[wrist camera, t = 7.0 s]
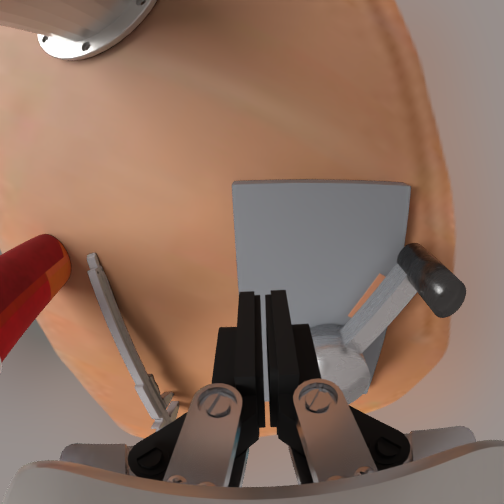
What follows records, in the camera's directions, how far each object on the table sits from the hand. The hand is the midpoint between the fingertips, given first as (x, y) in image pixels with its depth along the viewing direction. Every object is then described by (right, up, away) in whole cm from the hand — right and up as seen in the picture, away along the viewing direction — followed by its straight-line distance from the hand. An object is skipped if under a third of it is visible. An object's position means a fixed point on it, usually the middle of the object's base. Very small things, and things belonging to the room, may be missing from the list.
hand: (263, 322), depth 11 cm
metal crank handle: (+8, -3, +12) cm, 15 cm away
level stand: (+5, -2, +14) cm, 15 cm away
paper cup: (-21, +2, +13) cm, 25 cm away
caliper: (-12, -6, +17) cm, 22 cm away
